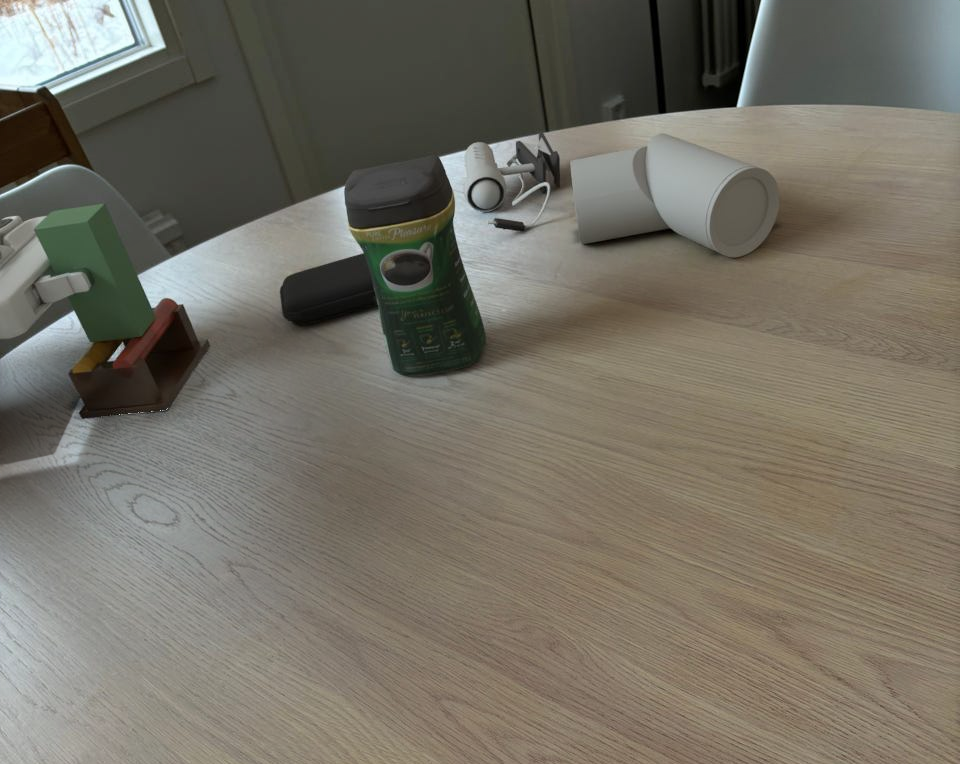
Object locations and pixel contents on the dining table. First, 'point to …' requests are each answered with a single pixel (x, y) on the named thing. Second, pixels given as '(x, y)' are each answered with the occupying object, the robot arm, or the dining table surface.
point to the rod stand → (139, 366)
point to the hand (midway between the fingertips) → (101, 265)
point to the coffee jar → (415, 265)
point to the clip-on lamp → (489, 184)
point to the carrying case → (327, 291)
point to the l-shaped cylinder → (675, 196)
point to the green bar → (97, 272)
